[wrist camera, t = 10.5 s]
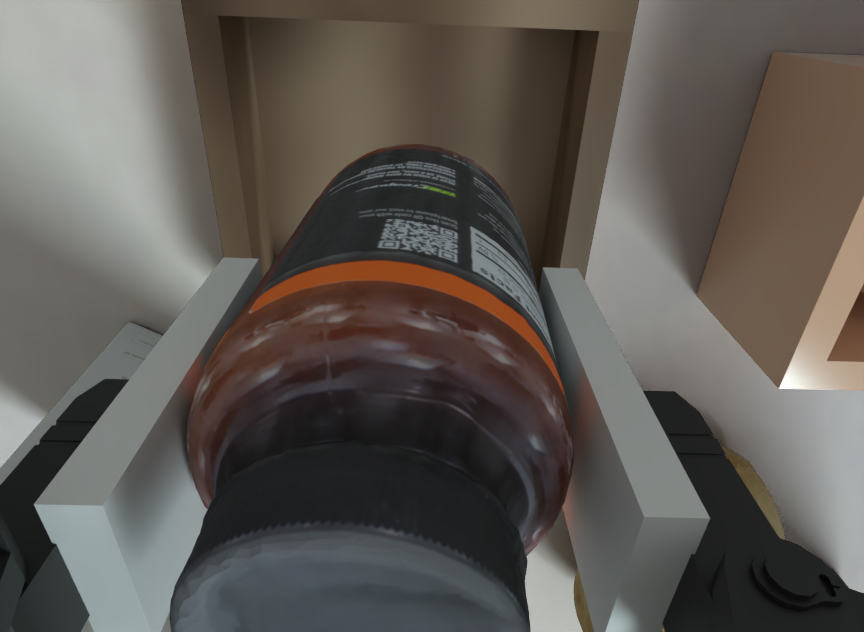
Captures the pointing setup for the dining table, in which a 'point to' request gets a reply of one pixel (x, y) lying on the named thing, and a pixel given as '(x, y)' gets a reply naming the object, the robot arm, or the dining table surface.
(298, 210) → the walnut bin
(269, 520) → the supplement bottle
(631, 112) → the dining table surface
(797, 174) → the light wooden box
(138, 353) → the supplement box
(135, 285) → the dining table surface
